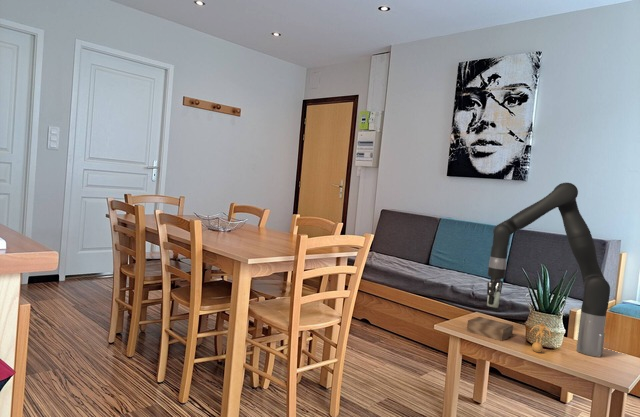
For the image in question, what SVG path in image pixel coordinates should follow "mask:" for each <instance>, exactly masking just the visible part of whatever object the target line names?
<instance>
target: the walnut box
mask: <svg viewBox="0 0 640 417" xmlns="http://www.w3.org/2000/svg"><path fill="white" fill-rule="evenodd" d="M466 326H467V327H466V332H469V333H472V334H476V335H479V336H483V337H487V338H489V339H493V340H496V341H501V342H503V341H505V340H506V339H508V338H510V337H513V330H514V324H510V323H506V322H502V321H499V320H495V319H490V318H487V317H483V316H477V317H473V318H471V319H468V320H467V325H466Z"/></svg>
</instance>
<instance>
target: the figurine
mask: <svg viewBox="0 0 640 417" xmlns="http://www.w3.org/2000/svg"><path fill="white" fill-rule="evenodd" d="M535 328H538V329H539V330H538V331H537V332H536V335H535V336H536V341H535V342H534V343H532V346H531V348H532V349H531V350H532V351H533V352H535V353H541V352H542V351H543V349H544V348H543V345H542V341H543V338H544V335H545V332H544V331H545V329H546V330H547V332H548V334H549V338H551V337H552V335H551V330H550V328H548V327H547V326H546V325H545V324H544V323H542V322H541V323H540V324H536V325H534V326H533V327H531V329H530V330H529V333H531V332H532V331H533V330H534V329H535ZM539 336H540V340H539ZM538 341H539V342H538Z"/></svg>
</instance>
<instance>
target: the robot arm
mask: <svg viewBox="0 0 640 417" xmlns="http://www.w3.org/2000/svg"><path fill="white" fill-rule="evenodd" d="M578 194H579V190H578V187H577V186H576V185H575V184H573V183H571V182H562V183H561V182H560V183H559V184H558V185H556V186H555V187H554V188H553V190H552V191H551V192H550V193H548V194H547V195H546V196H544V197H543V198H541V199H539V200H538V201H536V202H535V203H532V204H531V205H529V206H527V207H525V208H524V209H521V210H520V211H518V212H517V213H515V214H513V215H512V216H511V217H510V218H507V219H506V220H504V221H502V222H500V223H498V224H496V225H494V228H493V229H492V230H493V232H492V234H493V237H492V238H493V239H492V246H491V248H490V257H489V260H488V268H487V277H489V278H490V281H488V282H487V284H486V285H487V287H486V294H487V297H488V296H489V300H488V304H491V305H493V304H494V296H495V292H497V291H499V292H500V294H502V290H503V285H504V284H503V283H504V281H502V280H503V279H505V277H506V272H507V271H506V270H507V266H508V265H507V262H508V260H507V258H508V252H509V251H508V247H509V242H510V238H511V235H513V234H514V233H516V232H517V231H520V230H522V229H524V228H527V227H528V226H530V225H531V224H532V223H534V222H536V221H537V220H539V219H540V218H541V217H543V216H545V215H546V214H548V213H549V212H550V211H552V210H554V209H556V208H558V211H559V214H560V217H561V218H562V223H563V228H564V231H565V234H566V238H567V240H568V244H569V246H570V249H571V252H572V254H573V257H574V258H575V260H576V262H577V265H578V267H579V270H580V274H581V277H582V282H583V283H582V284H583V296H582V297H583V298H582V304H581V308H580V309H581V310H580V317H579V318H580V319H579V323H578V324H579V326H578V331H577V332H578V333H577V341H576V342H577V343H576V351H577V352H579V353H580V354H582V355H586V356H590V357H591V356H592V357H597V358H601V356H603V352H604V345H605V344H604V343H605V336H606V335H605V327H606V319H607V312H608V309H609V302H610V294H611V286H610V284H609V282H608V280H606V278H605V276H604V274H603V272H602V269H601V268H600V266H599V263H598V258H597V250H596V245H595V241H594V238H593V236H592V234H591V231H590V228H589V226H588V224H587V223H586V221H585V219H584V218H583V216H582V215H581V213H580V210H579V207H578V204H577V203H578V202H577V197H578ZM491 291H492V293H491Z"/></svg>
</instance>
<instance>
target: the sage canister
mask: <svg viewBox="0 0 640 417" xmlns="http://www.w3.org/2000/svg"><path fill="white" fill-rule="evenodd" d="M491 293H492V291H491ZM500 296H501V295H500V292H499V291H497V292H495V296H494V304H493V305H491V304H488V300H489V296H488V295H487V299H486V300H487V301H486V306H487V307H489V308H490V307H491V308H497V309H498V308H499V304H500Z"/></svg>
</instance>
